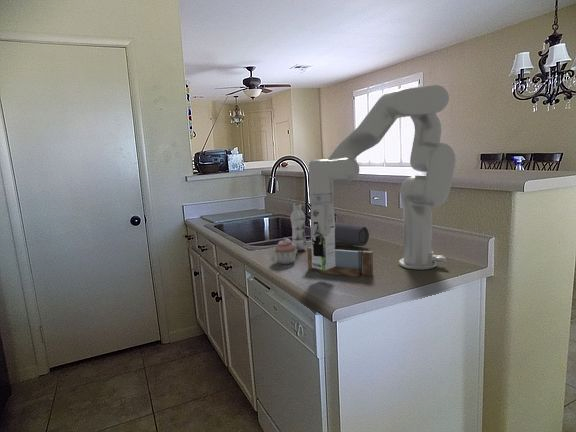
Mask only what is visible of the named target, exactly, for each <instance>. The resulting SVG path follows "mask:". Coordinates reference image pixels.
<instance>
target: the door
mask: <svg viewBox="0 0 576 432" xmlns="http://www.w3.org/2000/svg"><path fill="white" fill-rule="evenodd" d="M362 252H363V250H349V249H348V250H346V249H336V248H335V267H341V268H352V269H360V275H363V262H362Z"/></svg>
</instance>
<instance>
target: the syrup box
mask: <svg viewBox="0 0 576 432" xmlns="http://www.w3.org/2000/svg"><path fill="white" fill-rule="evenodd" d="M316 234H321V233H320V232H319V233H316ZM322 236H323V239H322V244H323V256H322V257H320V256H314V255H313V243H312V242H313V241H312V237H311V236H310V240H311V241H310V242H311V244H310V247H311V248H312V267H313V268H317V269H321V270H327V269H330V268H333V267H335V249H336V245H335V225H334V224H330V234H328V235H327V236H324V235H322ZM318 238H319V239H320V237H318Z"/></svg>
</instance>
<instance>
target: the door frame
mask: <svg viewBox="0 0 576 432" xmlns="http://www.w3.org/2000/svg"><path fill="white" fill-rule="evenodd" d="M306 248H307V269H308V270H309V271H316V272H317V271H318V273H319V274H327V275H338V276H346V277H357V278H358V277H360V275H361V274H360V269H352V268H341V267H333V268H330V269H327V270H321V269H317V268H313V267H312V248H311V246H308V247H306ZM362 273H363V274H362V276H366V277H372V276H373V275H374V251H373V250H362Z"/></svg>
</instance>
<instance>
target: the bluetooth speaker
mask: <svg viewBox="0 0 576 432" xmlns="http://www.w3.org/2000/svg"><path fill="white" fill-rule="evenodd" d="M369 238H370V232H369V229H368V228H367V226H364V225H359V224H352V223H345V222H336V221H335V246H339V247H346V248H352V247H354V246H357V247H364V246H365V245H367V244H368V242H369Z"/></svg>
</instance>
